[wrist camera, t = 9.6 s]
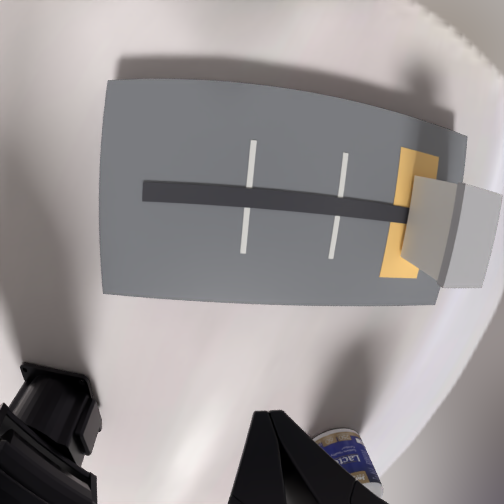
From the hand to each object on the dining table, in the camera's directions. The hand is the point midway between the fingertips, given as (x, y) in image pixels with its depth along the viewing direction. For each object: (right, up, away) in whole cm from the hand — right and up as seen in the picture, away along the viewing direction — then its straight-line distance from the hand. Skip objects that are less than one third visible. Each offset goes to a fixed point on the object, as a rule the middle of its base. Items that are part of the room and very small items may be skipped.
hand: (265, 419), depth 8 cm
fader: (+10, +7, +9) cm, 15 cm away
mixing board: (+2, +8, +10) cm, 13 cm away
